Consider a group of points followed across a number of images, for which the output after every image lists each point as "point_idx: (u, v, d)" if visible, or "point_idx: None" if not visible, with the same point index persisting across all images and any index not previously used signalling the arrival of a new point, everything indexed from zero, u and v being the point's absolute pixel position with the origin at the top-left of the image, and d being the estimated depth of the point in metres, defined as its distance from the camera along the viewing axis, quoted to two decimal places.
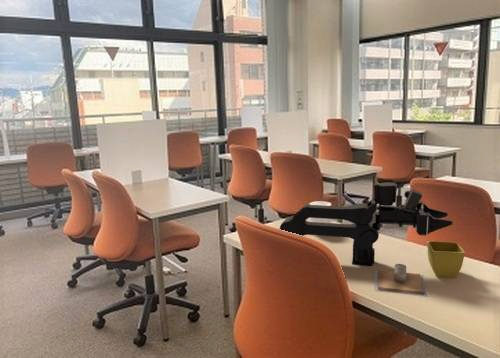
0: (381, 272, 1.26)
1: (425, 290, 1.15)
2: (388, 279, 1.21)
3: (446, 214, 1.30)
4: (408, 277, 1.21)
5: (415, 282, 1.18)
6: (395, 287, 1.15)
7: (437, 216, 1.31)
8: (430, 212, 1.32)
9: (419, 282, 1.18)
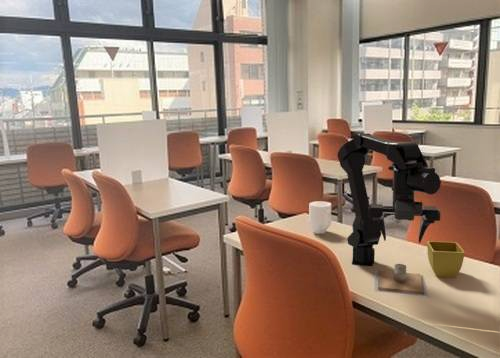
0: (381, 272, 1.26)
1: (425, 290, 1.15)
2: (388, 279, 1.21)
3: (419, 241, 1.16)
4: (408, 277, 1.21)
5: (415, 282, 1.18)
6: (395, 287, 1.15)
7: (419, 231, 1.17)
8: (421, 225, 1.15)
9: (419, 282, 1.18)
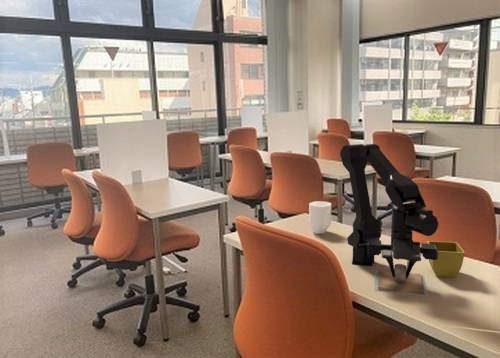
0: (381, 272, 1.26)
1: (425, 290, 1.15)
2: (388, 279, 1.21)
3: (406, 277, 1.19)
4: (408, 277, 1.21)
5: (415, 282, 1.18)
6: (395, 287, 1.15)
7: (406, 267, 1.19)
8: (408, 262, 1.18)
9: (419, 282, 1.18)
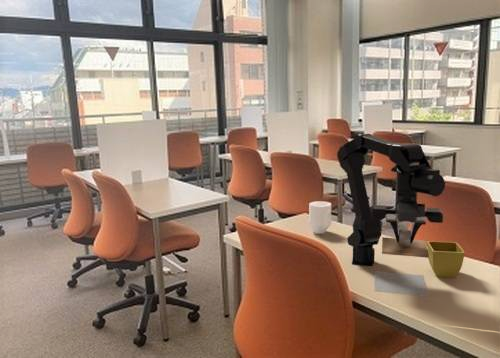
0: (385, 239, 1.24)
1: (425, 290, 1.15)
2: (392, 244, 1.19)
3: None
4: (412, 243, 1.20)
5: (419, 247, 1.16)
6: (399, 251, 1.14)
7: (411, 232, 1.18)
8: (412, 226, 1.16)
9: (424, 247, 1.16)
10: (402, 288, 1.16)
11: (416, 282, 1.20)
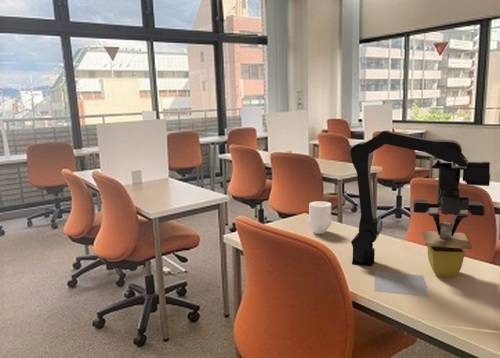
0: (425, 232, 1.29)
1: (425, 290, 1.15)
2: (434, 237, 1.24)
3: (452, 234, 1.22)
4: None
5: (461, 239, 1.21)
6: (442, 243, 1.18)
7: (452, 225, 1.23)
8: (454, 219, 1.21)
9: (465, 239, 1.21)
10: (402, 288, 1.16)
11: (416, 282, 1.20)
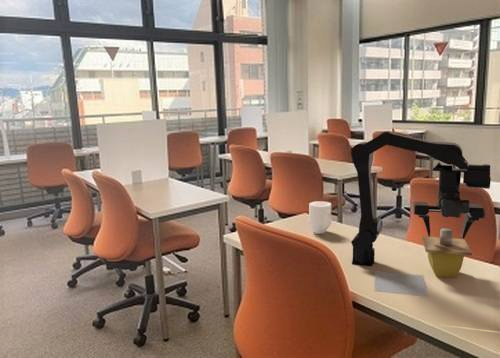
0: (425, 238, 1.29)
1: (425, 290, 1.15)
2: (434, 243, 1.24)
3: (462, 237, 1.22)
4: (453, 241, 1.25)
5: (461, 245, 1.22)
6: (442, 250, 1.19)
7: (462, 228, 1.22)
8: (465, 222, 1.21)
9: (465, 245, 1.22)
10: (402, 288, 1.16)
11: (416, 282, 1.20)
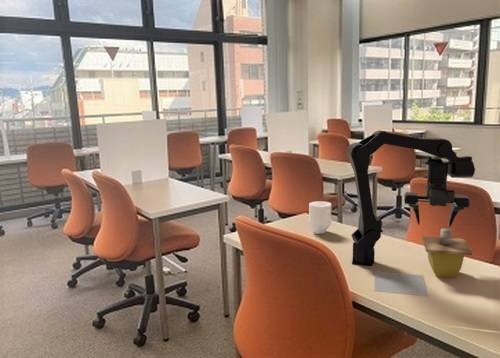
0: (425, 238, 1.29)
1: (425, 290, 1.15)
2: (434, 243, 1.24)
3: (449, 225, 1.32)
4: (453, 241, 1.25)
5: (461, 245, 1.22)
6: (443, 250, 1.19)
7: (449, 217, 1.32)
8: (451, 211, 1.31)
9: (465, 245, 1.22)
10: (402, 288, 1.16)
11: (416, 282, 1.20)
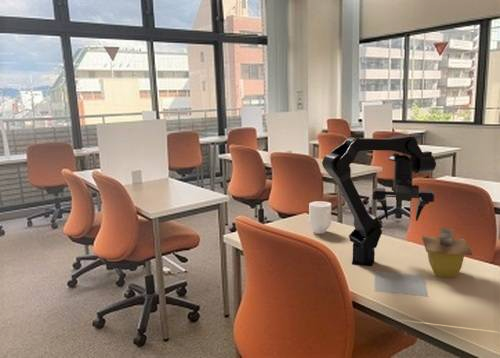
0: (425, 238, 1.29)
1: (425, 290, 1.15)
2: (434, 243, 1.24)
3: (416, 219, 1.36)
4: (453, 241, 1.25)
5: (461, 245, 1.22)
6: (443, 250, 1.19)
7: (416, 211, 1.37)
8: (417, 206, 1.35)
9: (465, 245, 1.22)
10: (402, 288, 1.16)
11: (416, 282, 1.20)
